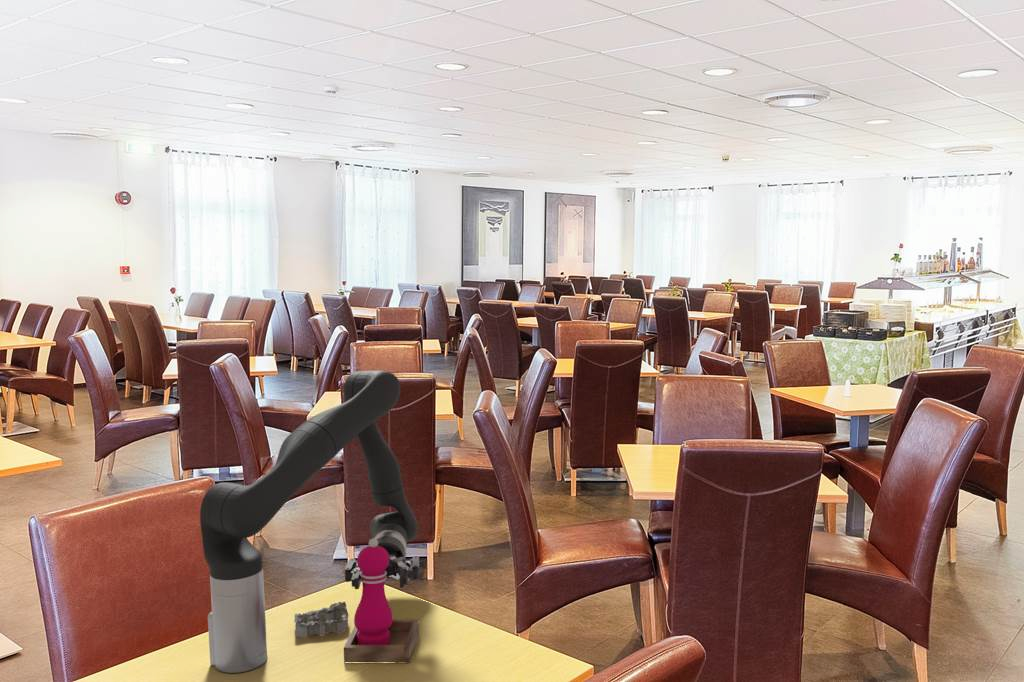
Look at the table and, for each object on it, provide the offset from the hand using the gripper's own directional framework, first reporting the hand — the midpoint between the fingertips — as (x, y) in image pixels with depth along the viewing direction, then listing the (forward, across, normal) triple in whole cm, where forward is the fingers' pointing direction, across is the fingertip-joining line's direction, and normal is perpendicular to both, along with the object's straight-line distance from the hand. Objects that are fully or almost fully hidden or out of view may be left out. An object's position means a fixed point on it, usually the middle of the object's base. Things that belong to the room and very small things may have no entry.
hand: (379, 583), depth 157 cm
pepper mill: (-2, -2, +12) cm, 13 cm away
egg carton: (-12, -13, +14) cm, 22 cm away
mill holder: (-2, 0, +14) cm, 14 cm away
